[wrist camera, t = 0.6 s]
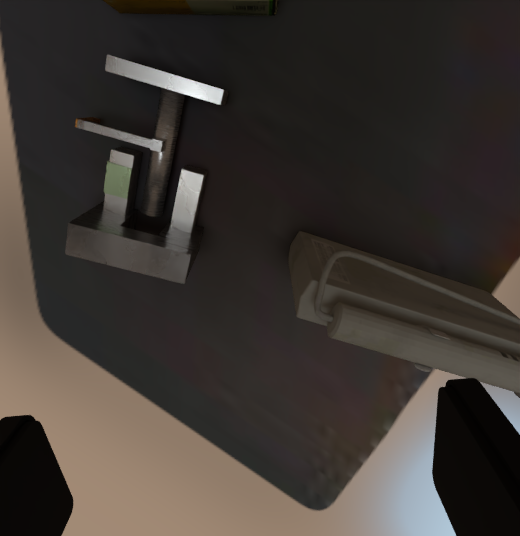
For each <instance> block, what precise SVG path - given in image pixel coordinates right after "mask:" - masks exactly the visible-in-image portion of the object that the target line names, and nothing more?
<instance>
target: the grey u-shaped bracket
mask: <svg viewBox="0 0 520 536" xmlns="http://www.w3.org/2000/svg"><path fill="white" fill-rule="evenodd" d="M142 153H143V152H139V151H136V150H132V149H129V148H125V147H122V146H121V147H118V148H114V149H111V154H110V161H107V168H106V176H105V184H104V193H105V200H104V201H103V202H101V203H100V204H98V205H97V206H95V207H93V208H92V209H90V210H88V211H87V212H85V213H84V214H82V215H80V216H79V217H77V218H75V219H74V220H72V221H71V222H69V223H68V232H67V242H66V253H65V254H66V255H70V256H74V257H78V258H82V259H86V260H90V261H94V262H98V263H102V264H106V265H110V266H114V267H118V268H122V269H126V270H130V271H134V272H138V273H142V274H146V275H150V276H154V277H158V278H162V279H166V280H170V281H174V282H178V283H182V284H185V282H186V279H187V277H188V275H189V272H190V270H191V268H192V265H193V263H194V261H195V259H196V256H197V254H198V251H199V247H200V242H201V238H202V234H203V230H204V227H201V226H197V225H195V224H196V220H197V216H198V211H199V207H200V202H201V198H202V193H203V189H204V184H205V180H206V175H207V170H203V169H200V168H196V167H193V166H189V165H186V166H185V167H184V168H182V170H181V175H180V180H179V185H178V190H177V195H176V200H175V205H174V210H173V215H172V219H171V220H170V221H169V222H168V223H167V225H166V226H165V227H164V228H163V230H162V231H161V232H160V234H159V235H158V236H156V235H152V234H149V233H145V232H141V231H137V230H135V225H136V219H137V213H138V210H137V209H134V203H135V197H136V190H137V184H138V178H139V172H140V165H141V159H142Z"/></svg>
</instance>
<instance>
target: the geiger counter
mask: <svg viewBox="0 0 520 536" xmlns="http://www.w3.org/2000/svg"><path fill="white" fill-rule="evenodd" d="M288 263H289V269H290V276H291V283H292V289H293V296H294V303H295V309H296V316H297V317H298V318H301V319H304V320H308V321H311V322H314V323H318V324H321V325H324V326H327V331H328V336H329V337H330V338H333V339H337V340H340V341H344V342H347V343H350V344H354V345H357V346H361V347H364V348H367V349H371V350H374V351H378V352H381V353H384V354H388V355H391V356H395V357H398V358H401V359H405V360H408V361H411V362H413V363H414V365H415V367H416V368H417V369H420V370H423V371H426V372H430V371H431V368H430V367H432V368H435V369H439V370H442V371H445V372H449V373H452V374H456V375H459V376H462V377H466V378H475V379H477V380H478V381H479V382H483V383H486V384H490V385H493V386H497V387H500V388H503V389H507V390H510V391H513V392H514V393H515V394H516V395H517V396H518V397H519V398H520V319H519V318H518V317H517V316H516V315H514V314H513V313H512V312H511V311H510V310H509V309H507V308H506V307H505V306H504V305H503V304H502V303H500V302H499V301H498V300H497V299H496V298H494V296H492V295H491V294H490V293H489V292H487V291H484V290H481V289H478V288H475V287H472V286H469V285H466V284H462V283H459V282H456V281H453V280H450V279H447V278H444V277H441V276H438V275H435V274H432V273H429V272H426V271H422V270H419V269H416V268H413V267H410V266H407V265H404V264H401V263H398V262H395V261H392V260H389V259H385V258H382V257H379V256H376V255H373V254H370V253H367V252H364V251H361V250H358V249H355V248H352V247H349V246H345V245H342V244H339V243H336V242H333V241H330V240H327V239H324V238H321V237H318V236H315V235H312V234H309V233H305V232H302V231H299V232H298V234H297V235H296V237H295V238H294V240H293V242H292V243H291V245H290V251H289V257H288Z"/></svg>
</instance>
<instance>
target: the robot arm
mask: <svg viewBox="0 0 520 536" xmlns="http://www.w3.org/2000/svg"><path fill="white" fill-rule="evenodd" d="M435 431H436V432H435V443H434V458H433V470H432V474H433V480H434V484H435V488H436V490H437V492H438V495H439V497H440V499H441V501H442V504H443V506H444V508H445V511H446V513H447V515H448V517H449V520H450V522H451V524H452V526H453V529H454V531H455V533H456V536H520V435H519V433H518V432H517V431H516V429H515V428H514V427H513V425H512V424H511V423H510V421H509V420H508V419H507V417H506V416H505V415H504V414H503V412H502V411H501V410H500V408H499V407H498V406H497V404H496V403H495V402H494V400H493V399H492V398H491V396H490V395H489V394H488V392H487V391H486V390H485V388H484V387H483V386H482V385H481V383H480V382H479V381H478V380H477V379H475V378H466V379H454V380H448V381H447V382H446V386H445V387H441V388H439V392H438V403H437V417H436V430H435ZM72 509H73V497H72V495H71V492H70V490H69V488H68V485H67V483H66V481H65V478H64V476H63V474H62V471H61V469H60V467H59V464H58V462H57V460H56V457H55V455H54V453H53V450H52V448H51V446H50V443H49V441H48V438H47V436H46V434H45V431H44V429H43V427H42V425H41V423H40V422H39V421H36V420H35V419H34V417H32V416H31V415H23V416H11V417H5V418H2V419H1V420H0V536H61V535H62V533H63V531H64V528H65V526H66V524H67V522H68V520H69V518H70V515H71V513H72Z"/></svg>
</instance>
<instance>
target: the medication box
mask: <svg viewBox="0 0 520 536" xmlns="http://www.w3.org/2000/svg"><path fill="white" fill-rule="evenodd" d="M103 1H104V2H106V3H107V4H108V5H110V6H111V7H113V8H114V9H115V10H117V11H118V12H119V13H133V14H193V15H275V14H276V13H277V7H278V0H103Z"/></svg>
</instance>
